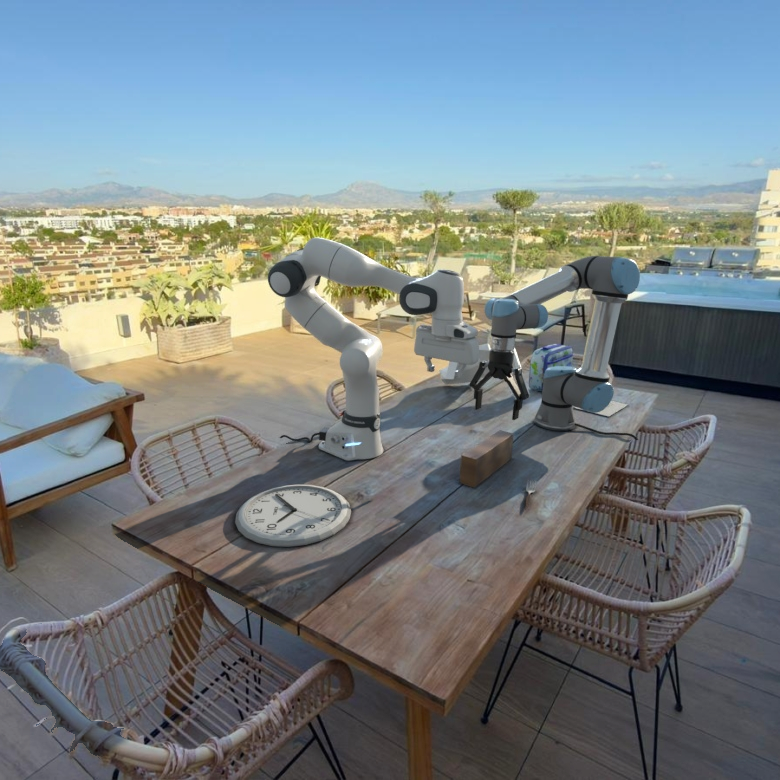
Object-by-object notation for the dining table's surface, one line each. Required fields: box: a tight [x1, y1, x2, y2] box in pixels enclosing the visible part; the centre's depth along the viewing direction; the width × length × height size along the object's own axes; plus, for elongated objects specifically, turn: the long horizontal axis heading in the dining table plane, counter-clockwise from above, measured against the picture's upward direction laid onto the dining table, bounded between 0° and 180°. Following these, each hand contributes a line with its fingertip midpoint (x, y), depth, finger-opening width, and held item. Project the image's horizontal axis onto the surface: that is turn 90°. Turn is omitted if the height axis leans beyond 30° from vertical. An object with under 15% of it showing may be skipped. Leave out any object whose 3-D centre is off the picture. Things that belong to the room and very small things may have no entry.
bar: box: [459, 429, 514, 489], centre depth 164 cm, size 26×5×9 cm, turn 143°
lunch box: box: [528, 343, 574, 392], centre depth 248 cm, size 26×11×21 cm, turn 134°
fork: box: [525, 478, 537, 511], centre depth 148 cm, size 3×16×2 cm, turn 160°
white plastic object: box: [438, 342, 531, 400], centre depth 245 cm, size 37×45×31 cm
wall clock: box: [234, 484, 352, 548], centre depth 138 cm, size 30×2×30 cm
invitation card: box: [573, 400, 629, 418], centre depth 226 cm, size 21×1×15 cm
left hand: (444, 374), depth 154 cm, fingers open, 8 cm apart
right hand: (496, 413), depth 169 cm, fingers open, 13 cm apart
